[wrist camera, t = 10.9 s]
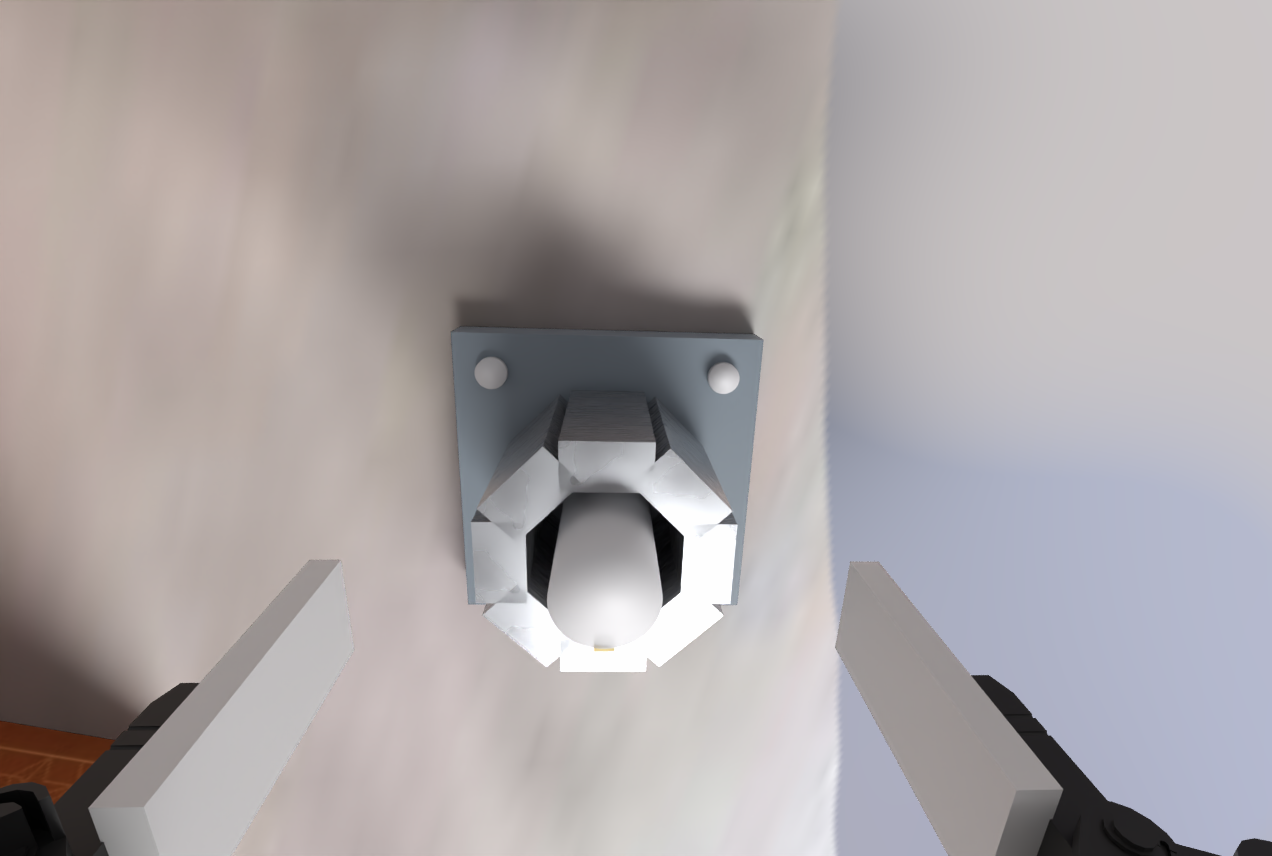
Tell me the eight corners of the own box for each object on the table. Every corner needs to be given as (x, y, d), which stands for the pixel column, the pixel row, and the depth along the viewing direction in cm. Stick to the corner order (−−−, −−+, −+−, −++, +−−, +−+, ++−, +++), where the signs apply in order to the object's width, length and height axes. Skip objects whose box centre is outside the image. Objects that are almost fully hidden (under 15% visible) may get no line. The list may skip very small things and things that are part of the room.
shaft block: (460, 326, 24) (359, 384, 14) (754, 333, 24) (848, 394, 15) (475, 585, 27) (403, 771, 18) (730, 586, 28) (793, 766, 18)
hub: (502, 388, 22) (466, 439, 17) (710, 392, 23) (745, 443, 17) (509, 572, 25) (479, 671, 19) (697, 573, 25) (723, 670, 19)
